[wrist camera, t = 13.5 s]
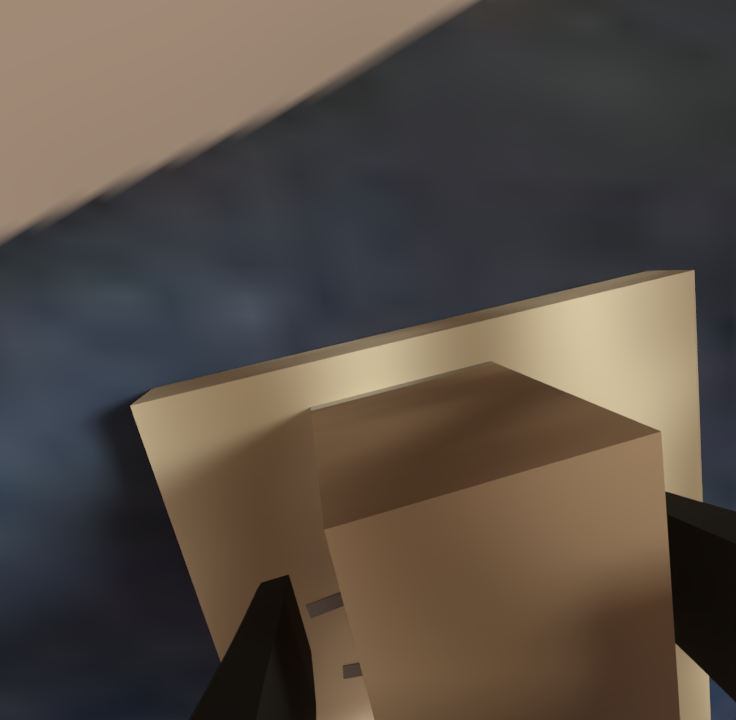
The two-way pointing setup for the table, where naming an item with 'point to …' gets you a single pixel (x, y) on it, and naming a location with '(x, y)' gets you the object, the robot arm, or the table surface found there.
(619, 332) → the board
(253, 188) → the table surface
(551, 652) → the block
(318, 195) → the table surface
